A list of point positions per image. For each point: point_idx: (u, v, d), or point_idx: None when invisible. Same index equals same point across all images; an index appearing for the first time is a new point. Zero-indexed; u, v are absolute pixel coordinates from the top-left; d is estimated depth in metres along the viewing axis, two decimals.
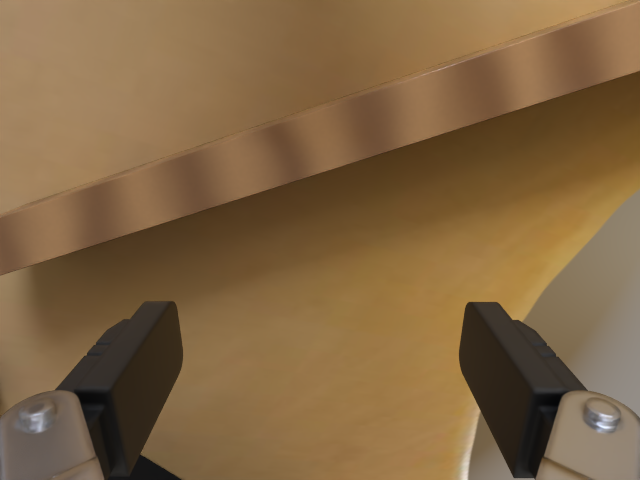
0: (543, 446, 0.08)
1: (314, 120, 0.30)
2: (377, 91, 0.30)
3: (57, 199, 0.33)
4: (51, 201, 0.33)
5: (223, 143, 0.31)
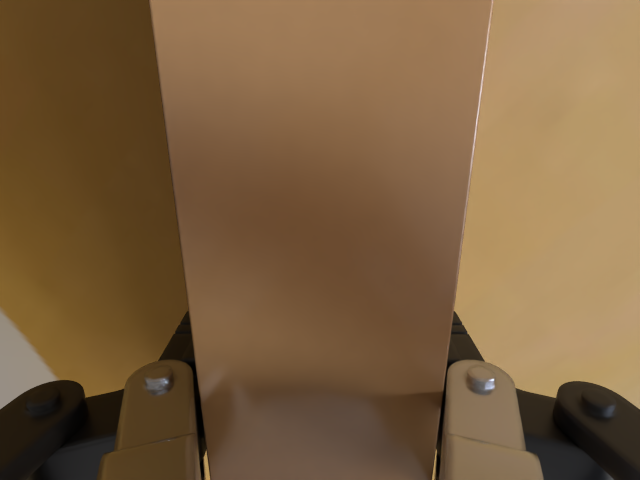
0: None
1: None
2: None
3: None
4: None
5: None
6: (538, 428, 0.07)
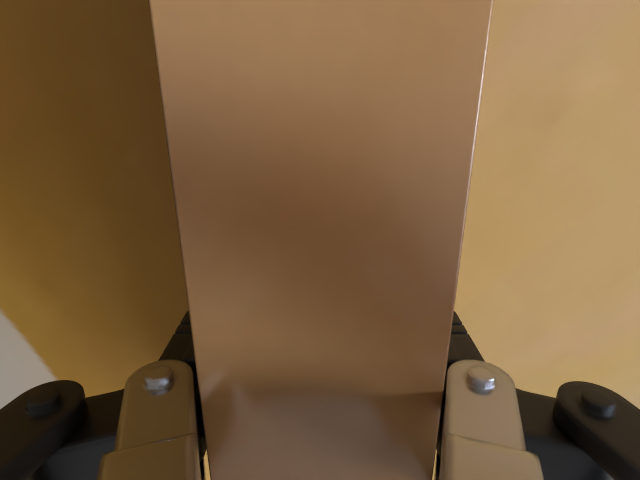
0: None
1: None
2: None
3: None
4: None
5: None
6: (538, 428, 0.07)
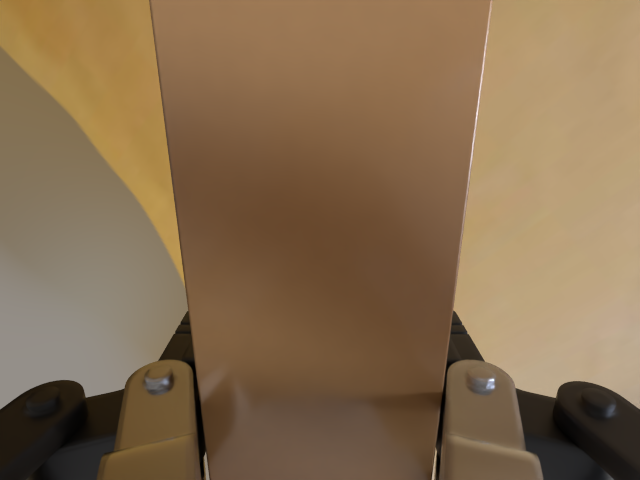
0: None
1: None
2: None
3: None
4: None
5: None
6: (538, 428, 0.07)
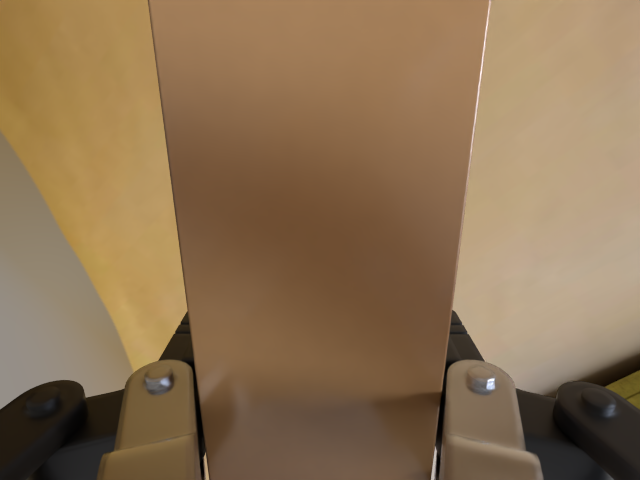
0: None
1: None
2: None
3: None
4: None
5: None
6: (538, 428, 0.07)
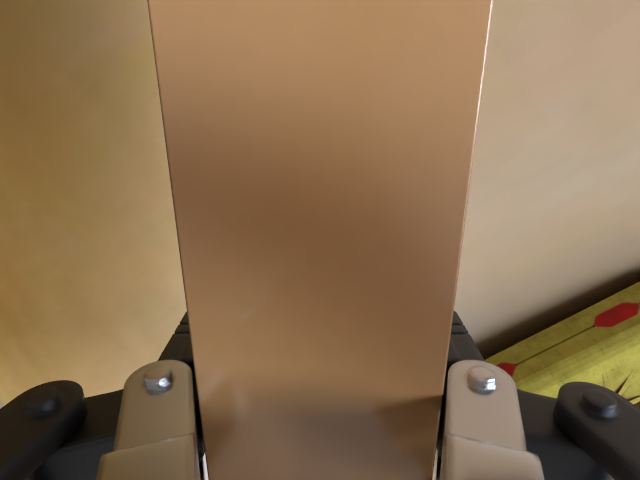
0: None
1: None
2: None
3: None
4: None
5: None
6: (539, 428, 0.07)
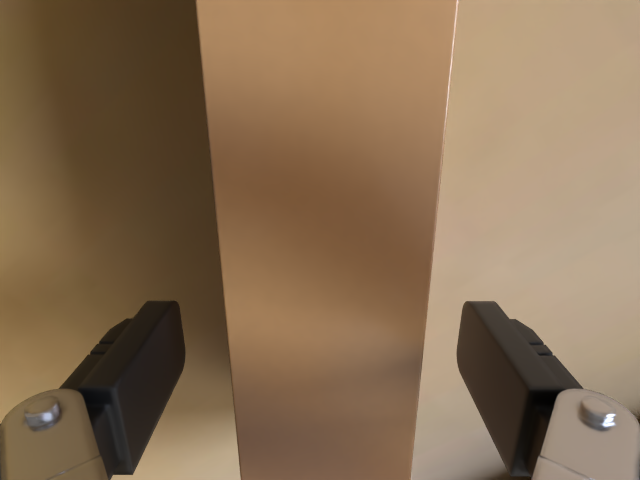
0: (539, 444, 0.08)
1: None
2: None
3: None
4: None
5: None
6: None
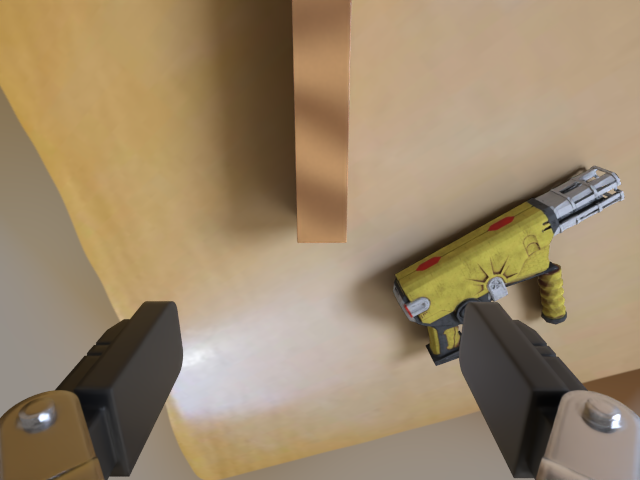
0: (543, 446, 0.08)
1: None
2: None
3: None
4: None
5: None
6: None
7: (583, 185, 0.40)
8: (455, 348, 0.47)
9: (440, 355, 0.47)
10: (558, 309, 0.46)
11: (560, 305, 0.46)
